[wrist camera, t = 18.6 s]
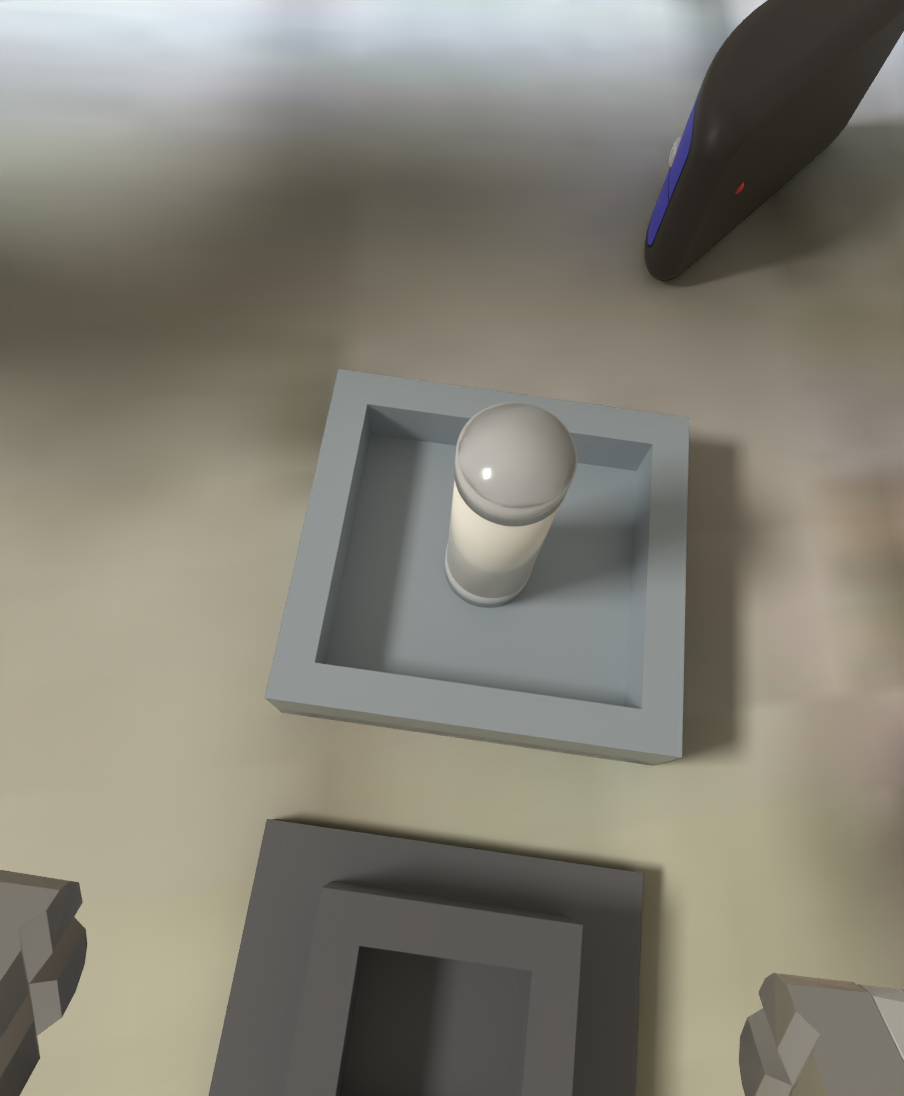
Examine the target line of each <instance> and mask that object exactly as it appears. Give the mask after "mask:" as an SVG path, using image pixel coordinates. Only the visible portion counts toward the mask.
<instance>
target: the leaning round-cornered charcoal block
mask: <svg viewBox="0 0 904 1096" xmlns="http://www.w3.org/2000/svg"><path fill="white" fill-rule="evenodd" d="M903 31H904V0H767V1H766V2H765V3H763V4H762V5H761V6H759V7H758V8H757V9H756V10H754V11H753V12H752V13H751V14H750V15H749V16H748V17H746V18H745V19H744V20H743V21H742V22H741V23H740V24H739V25H738V26H737V28H736V29H735V30H734V31H733V32H732V33H731V34H730V36H729V37H728V38H727V39H726V41H725V42H724V43H723V45H722V46H721V48H720V49H719V51H718V52H717V54H716V55H715V57H714V59H713V61H712V63H711V64H710V66H709V69H708V71H707V73H706V75H705V78H704V80H703V83H702V85H701V88H700V91H699V93H698V96H697V99H696V101H695V104H694V106H693V109H692V112H691V114H690V117H689V119H688V122H687V125H686V127H685V130H684V133H683V135H681V136H680V137H679V138H677V139H676V141H675V142H674V144H673V146H672V149H671V152H670V154H669V159H668V161H669V166H670V169H669V172H668V174H667V177H666V180H665V182H664V185H663V187H662V190H661V193H660V195H659V198H658V201H657V203H656V206H655V209H654V211H653V214H652V216H651V219H650V222H649V226H648V230H647V235H646V241H645V262H646V266H647V268H648V270H649V272H650V274H651V275H652V276H653V277H655V278H656V279H659V280H668V279H672V278H674V277H676V276H678V275H680V274H681V273H683V272H684V271H685V270H686V269H688V268H689V267H690V266H691V265H692V264H693V263H694V262H696V261H697V260H698V259H699V258H700V257H701V256H702V255H704V254H705V253H706V252H707V251H708V250H709V249H711V248H712V247H713V246H714V245H715V244H716V243H717V242H719V241H720V240H721V239H722V238H723V237H724V236H725V235H727V234H728V233H729V232H730V231H731V230H732V229H734V228H735V227H736V226H737V225H738V224H739V223H740V222H742V221H743V220H744V219H745V218H746V217H747V216H748V215H750V214H751V213H752V212H753V211H754V210H755V209H756V208H758V207H759V206H760V205H761V204H762V203H763V202H765V201H766V200H767V199H768V198H769V197H770V196H771V195H773V194H774V193H775V192H776V191H777V190H778V189H779V188H781V187H782V186H783V185H784V184H785V183H786V182H788V181H789V180H790V179H791V178H792V177H793V176H794V175H796V174H797V173H798V172H799V171H800V170H801V169H802V168H804V167H805V166H806V165H807V164H808V163H809V162H811V161H812V160H813V159H814V158H815V157H816V156H817V155H819V154H820V153H821V152H822V151H823V150H824V149H825V148H827V147H828V146H829V145H830V144H831V143H832V142H833V141H834V140H835V138H836V137H837V136H838V135H839V134H840V133H841V131H842V130H843V129H844V128H845V126H846V125H847V123H848V122H849V120H850V118H851V117H852V115H853V113H854V112H855V110H856V108H857V107H858V105H859V104H860V102H861V100H862V99H863V97H864V95H865V94H866V92H867V90H868V89H869V87H870V85H871V84H872V82H873V81H874V79H875V77H876V76H877V74H878V72H879V71H880V69H881V67H882V66H883V64H884V63H885V61H886V59H887V58H888V56H889V54H890V53H891V51H892V49H893V48H894V46H895V44H896V43H897V41H898V40H899V38H900V36H901V35H902V33H903Z"/></svg>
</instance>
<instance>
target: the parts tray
mask: <svg viewBox="0 0 904 1096" xmlns="http://www.w3.org/2000/svg"><path fill="white" fill-rule="evenodd" d="M505 402H522V403H527V404H532V405H535V406H538V407H540V408H542V409H545V410H546V411H548V412H550V413H551V414H553V415H554V416H555V417H557V418H558V419H559V420H560V421H561V422H562V423H563V424H564V425H565V427H566V428H567V429H568V431H569V432H570V434H571V436H572V438H573V440H574V443H575V446H576V450H577V468H576V472H575V475H574V478H573V480H572V482H571V485H570V487H569V489H568V492H567V494H566V496H565V498H564V500H563V502H562V503H561V504H560V506H559V508H558V510H557V513H556V515H555V517H554V519H553V522H552V524H551V526H550V529H549V531H548V533H547V535H546V538H545V540H544V542H543V545H542V547H541V549H540V551H539V554H538V556H537V558H536V561H535V563H534V565H533V569H532V572H531V575H530V577H529V580H528V582H527V584H526V586H525V588H524V589H523V591H522V592H521V593H520V595H519V596H518V597H517V598H515V599H514V600H513V601H511V602H510V603H507V604H505V605H503V606H499V607H494V608H483V607H478V606H474V605H471V604H469V603H467V602H465V601H464V600H462V599H461V598H460V597H459V596H457V595H456V593H455V592H454V591H453V590H452V588H451V587H450V585H449V583H448V581H447V578H446V575H445V555H446V548H447V544H448V538H449V528H450V519H451V509H452V500H453V490H454V481H455V478H454V466H455V456H456V446H457V442H458V438H459V435H460V433H461V431H462V429H463V428H464V426H465V425H466V423H467V422H468V421H469V420H470V419H471V418H472V417H473V416H474V415H476V414H477V413H478V412H480V411H481V410H483V409H485V408H487V407H490V406H492V405H496V404H499V403H505ZM688 458H689V418H687V417H680V416H673V415H665V414H658V413H651V412H644V411H637V410H630V409H622V408H615V407H608V406H601V405H594V404H587V403H579V402H572V401H565V400H558V399H551V398H544V397H536V396H529V395H522V394H515V393H508V392H501V391H493V390H486V389H479V388H472V387H465V386H458V385H450V384H443V383H436V382H429V381H422V380H415V379H407V378H400V377H393V376H386V375H379V374H372V373H364V372H357V371H350V370H343V369H338V373H337V377H336V382H335V386H334V390H333V395H332V399H331V404H330V408H329V413H328V417H327V422H326V426H325V431H324V435H323V440H322V444H321V449H320V453H319V457H318V462H317V466H316V471H315V475H314V480H313V484H312V489H311V493H310V498H309V502H308V507H307V511H306V516H305V520H304V524H303V529H302V533H301V538H300V542H299V547H298V551H297V556H296V560H295V565H294V569H293V574H292V578H291V583H290V587H289V591H288V596H287V600H286V605H285V609H284V614H283V618H282V623H281V627H280V632H279V636H278V641H277V645H276V649H275V654H274V658H273V663H272V667H271V672H270V676H269V681H268V685H267V690H266V694H265V699H267V700H268V701H269V702H270V703H271V704H272V705H273V706H275V707H276V708H277V709H278V710H279V711H280V712H282V713H289V714H296V715H303V716H310V717H317V718H324V719H331V720H338V721H345V722H352V723H359V724H366V725H373V726H380V727H387V728H394V729H401V730H408V731H415V732H422V733H429V734H436V735H443V736H450V737H457V738H464V739H471V740H478V741H485V742H492V743H499V744H506V745H513V746H520V747H527V748H534V749H541V750H548V751H555V752H562V753H569V754H576V755H583V756H590V757H597V758H604V759H611V760H618V761H625V762H632V763H639V764H646V765H656V764H660V763H664V762H667V761H671V760H675V759H678V758H682V733H683V687H684V641H685V595H686V550H687V504H688Z"/></svg>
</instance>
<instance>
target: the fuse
mask: <svg viewBox="0 0 904 1096" xmlns="http://www.w3.org/2000/svg"><path fill="white" fill-rule="evenodd" d="M576 468H577V450H576V446H575V443H574V440H573V438H572V436H571V434H570V432H569V431H568V429H567V428H566V427H565V425H564V424H563V423H562V422H561V421H560V420H559V419H558V418H557V417H555V416H554V415H553V414H551V413H550V412H548V411H546V410H545V409H542V408H540V407H538V406H535V405H532V404H527V403H522V402H505V403H499V404H496V405H492V406H490V407H487V408H485V409H483V410H481V411H480V412H478V413H477V414H476V415H474V416H473V417H472V418H471V419H470V420H469V421H468V422H467V423H466V425H465V426H464V428H463V429H462V431H461V433H460V435H459V438H458V442H457V446H456V456H455V466H454V478H455V481H454V490H453V500H452V509H451V519H450V528H449V538H448V544H447V548H446V555H445V575H446V578H447V581H448V583H449V585H450V587H451V588H452V590H453V591H454V592H455V593H456V595H457V596H459V597H460V598H461V599H462V600H464V601H465V602H467V603H469V604H471V605H474V606H478V607H483V608H494V607H499V606H503V605H505V604H507V603H510V602H511V601H513V600H514V599H515V598H517V597H518V596H519V595H520V593H521V592H522V591H523V589H524V588H525V586H526V584H527V582H528V580H529V577H530V575H531V572H532V569H533V565H534V563H535V561H536V558H537V556H538V554H539V551H540V549H541V547H542V545H543V542H544V540H545V538H546V535H547V533H548V531H549V529H550V526H551V524H552V522H553V519H554V517H555V515H556V513H557V510H558V508H559V506H560V504H561V503H562V502H563V500H564V498H565V496H566V494H567V492H568V489H569V487H570V485H571V482H572V480H573V478H574V475H575V472H576Z"/></svg>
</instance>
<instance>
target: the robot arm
mask: <svg viewBox="0 0 904 1096" xmlns="http://www.w3.org/2000/svg"><path fill="white" fill-rule="evenodd" d="M81 904H82V897H81V891H80V886H79V882H73V881H67V880H61V879H54V878H48V877H42V876H36V875H29V874H23V873H17V872H11V871H5V870H0V1096H19V1095H20V1094H21V1092H22V1090H23V1088H24V1086H25V1084H26V1083H27V1081H28V1079H29V1077H30V1075H31V1073H32V1072H33V1070H34V1068H35V1066H36V1064H37V1062H38V1061H39V1059H40V1054H39V1046H38V1038H37V1035H39V1034H40V1033H41V1032H43V1031H44V1030H45V1029H47V1028H48V1027H49V1026H51V1025H52V1024H54V1023H55V1022H56V1021H58V1020H59V1019H60V1018H62V1016H63V1014H64V1012H65V1011H66V1009H67V1007H68V1005H69V1003H70V1001H71V999H72V997H73V995H74V993H75V991H76V988H77V985H78V982H79V979H80V976H81V973H82V970H83V967H84V964H85V958H86V949H87V937H86V929H85V928H84V927H83V926H82V925H81V924H80V923H79V922H78V921H77V920H76V918H75V917H74V916H75V914H76V913H77V911H78V909H79V907H80V906H81ZM759 996H760V999H761V1002H762V1005H763V1009H761V1010H759V1011H758V1012H756V1013H754V1014H753V1015H751V1016H749V1017H747V1020H746V1023H745V1025H744V1028H743V1031H742V1033H741V1036H740V1051H739V1066H740V1073H741V1080H742V1085H743V1089H744V1093H745V1096H904V990H898V989H892V988H884V987H876V986H867V985H857V984H855V983H854V982H845V981H837V980H828V979H820V978H811V977H803V976H794V975H786V974H777V973H773V974H772V975H770V976H768V977H767V978H765V980H764V982H763V984H762V986H761V988H760V991H759Z"/></svg>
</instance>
